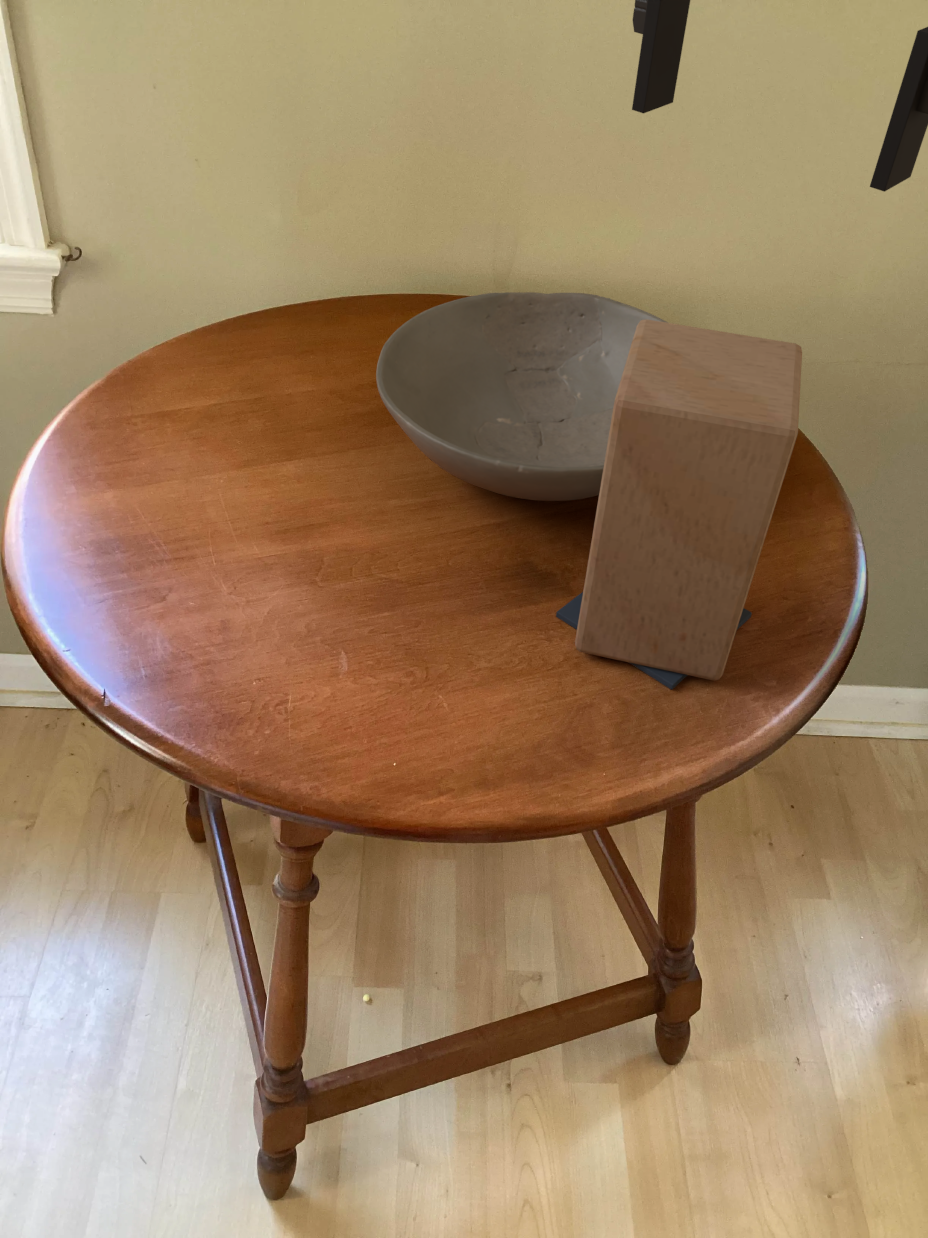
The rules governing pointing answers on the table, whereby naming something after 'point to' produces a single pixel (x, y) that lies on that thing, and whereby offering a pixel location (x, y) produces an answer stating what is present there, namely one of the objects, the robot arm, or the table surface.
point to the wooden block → (687, 494)
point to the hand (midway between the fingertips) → (763, 142)
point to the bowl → (512, 388)
